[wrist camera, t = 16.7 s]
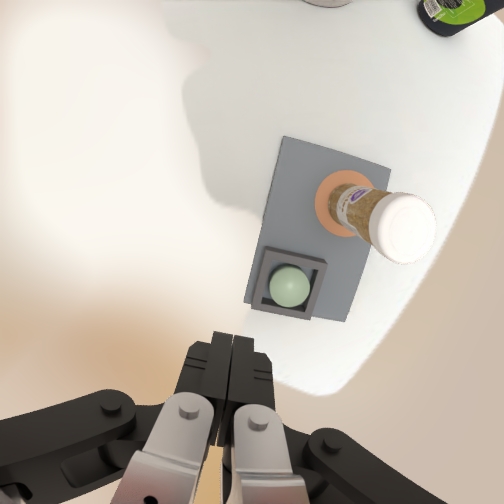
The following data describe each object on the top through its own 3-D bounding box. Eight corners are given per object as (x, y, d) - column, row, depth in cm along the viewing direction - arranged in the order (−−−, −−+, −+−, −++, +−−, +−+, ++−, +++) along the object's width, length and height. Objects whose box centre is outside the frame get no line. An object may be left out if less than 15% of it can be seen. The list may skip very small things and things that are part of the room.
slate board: (283, 136, 29) (286, 133, 26) (388, 169, 30) (398, 169, 27) (243, 299, 33) (243, 309, 31) (343, 319, 34) (349, 329, 32)
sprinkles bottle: (344, 173, 29) (408, 179, 16) (375, 202, 30) (449, 225, 17) (317, 208, 30) (365, 237, 17) (349, 235, 31) (410, 279, 18)
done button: (274, 259, 31) (275, 265, 29) (310, 267, 31) (314, 274, 29) (264, 294, 32) (265, 302, 30) (300, 301, 32) (303, 310, 30)
